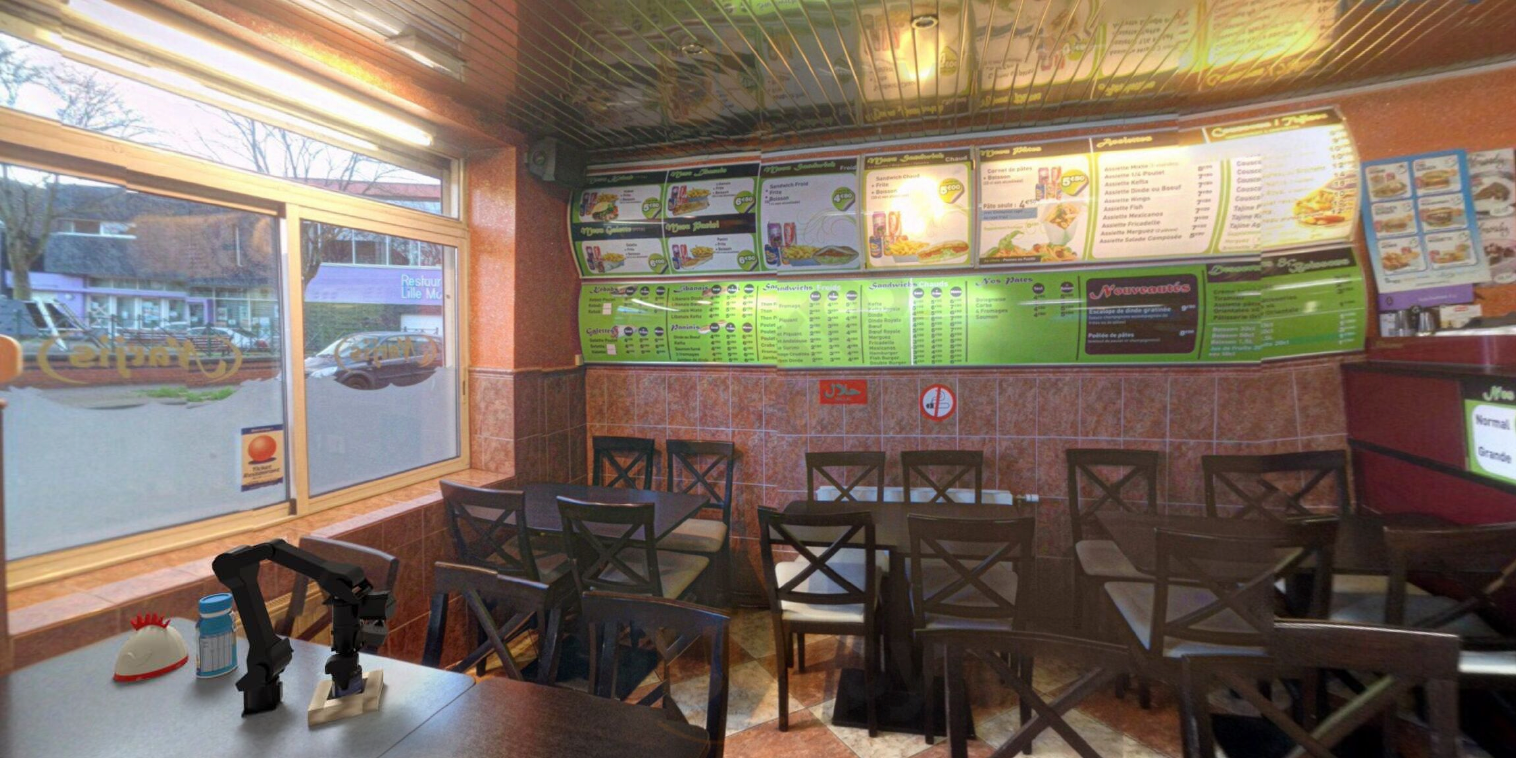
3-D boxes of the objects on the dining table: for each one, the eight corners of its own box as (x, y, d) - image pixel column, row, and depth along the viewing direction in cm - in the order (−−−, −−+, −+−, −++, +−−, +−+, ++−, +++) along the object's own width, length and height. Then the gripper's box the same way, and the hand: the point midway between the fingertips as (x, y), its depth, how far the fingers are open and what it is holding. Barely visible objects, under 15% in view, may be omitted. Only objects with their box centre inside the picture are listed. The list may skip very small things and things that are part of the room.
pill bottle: (368, 696, 147) (368, 653, 146) (349, 711, 140) (348, 666, 140) (345, 695, 147) (345, 651, 147) (325, 709, 141) (325, 664, 141)
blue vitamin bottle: (212, 681, 152) (210, 605, 151) (186, 677, 154) (184, 602, 153) (246, 664, 160) (245, 592, 159) (221, 661, 162) (220, 589, 161)
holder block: (307, 725, 135) (307, 710, 135) (319, 695, 147) (319, 681, 147) (377, 710, 141) (377, 696, 141) (383, 682, 153) (383, 669, 153)
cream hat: (138, 658, 163) (136, 605, 162) (199, 651, 167) (198, 599, 166) (99, 685, 150) (98, 627, 149) (167, 677, 154) (166, 621, 153)
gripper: (381, 629, 138) (382, 694, 139) (389, 600, 155) (389, 657, 156) (324, 639, 133) (324, 706, 134) (338, 607, 150) (338, 667, 150)
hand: (347, 682), depth 144 cm, fingers open, 7 cm apart
